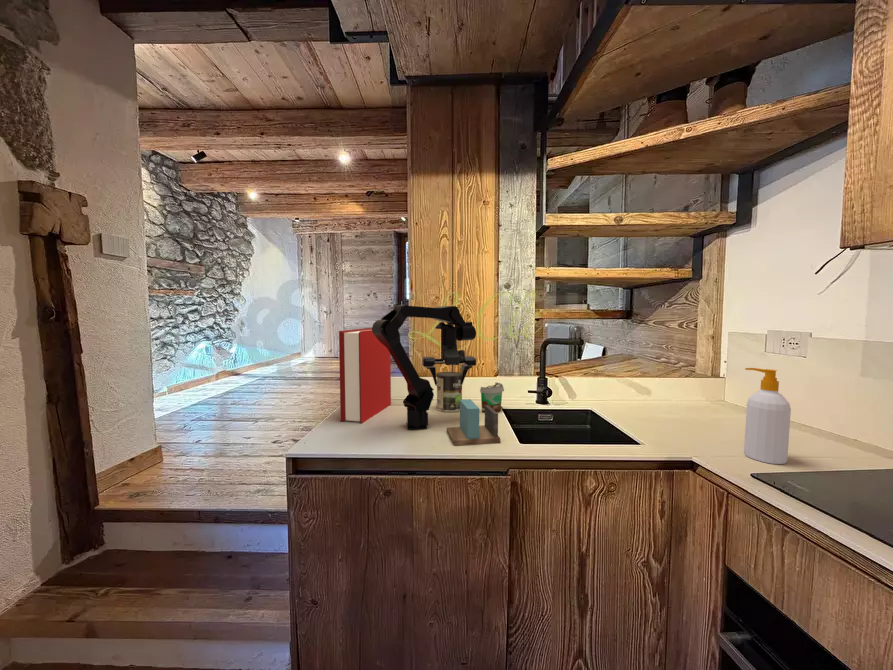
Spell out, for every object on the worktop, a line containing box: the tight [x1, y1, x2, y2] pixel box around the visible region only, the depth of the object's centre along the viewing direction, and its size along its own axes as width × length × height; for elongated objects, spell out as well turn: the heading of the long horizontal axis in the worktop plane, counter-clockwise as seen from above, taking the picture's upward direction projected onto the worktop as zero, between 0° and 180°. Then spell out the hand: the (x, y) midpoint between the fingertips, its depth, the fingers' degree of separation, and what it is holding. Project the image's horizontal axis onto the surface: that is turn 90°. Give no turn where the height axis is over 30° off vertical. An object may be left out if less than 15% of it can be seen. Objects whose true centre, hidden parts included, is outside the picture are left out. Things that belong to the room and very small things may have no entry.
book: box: [338, 327, 392, 424], centre depth 136 cm, size 27×8×32 cm, turn 166°
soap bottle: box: [743, 367, 792, 465], centre depth 94 cm, size 9×9×24 cm
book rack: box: [446, 405, 501, 447], centre depth 110 cm, size 14×12×8 cm
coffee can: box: [436, 371, 463, 413], centre depth 142 cm, size 10×10×14 cm
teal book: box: [459, 398, 480, 439], centre depth 109 cm, size 4×11×9 cm, turn 10°
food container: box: [479, 382, 505, 414], centre depth 139 cm, size 12×6×10 cm, turn 143°
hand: (448, 385), depth 127 cm, fingers open, 9 cm apart
